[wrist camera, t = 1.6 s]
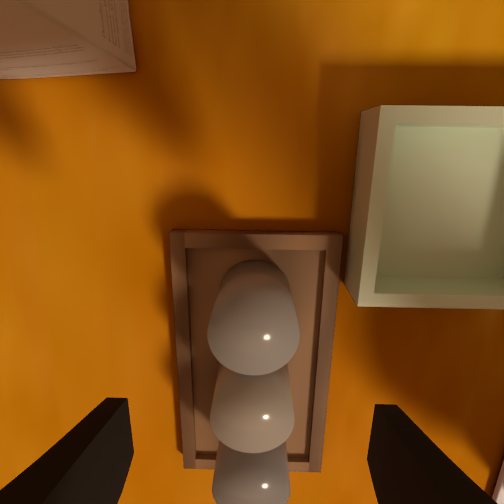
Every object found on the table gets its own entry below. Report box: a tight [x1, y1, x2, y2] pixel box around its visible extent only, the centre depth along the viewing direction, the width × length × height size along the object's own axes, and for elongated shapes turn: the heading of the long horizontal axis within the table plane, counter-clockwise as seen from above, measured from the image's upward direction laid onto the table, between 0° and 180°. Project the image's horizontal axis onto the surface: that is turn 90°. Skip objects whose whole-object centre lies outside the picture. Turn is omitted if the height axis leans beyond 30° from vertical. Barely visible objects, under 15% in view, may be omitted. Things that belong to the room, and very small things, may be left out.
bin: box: [344, 105, 504, 309], centre depth 16 cm, size 9×9×3 cm
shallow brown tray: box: [169, 229, 343, 472], centre depth 20 cm, size 9×16×1 cm, turn 179°
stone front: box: [207, 259, 300, 375], centre depth 17 cm, size 4×4×4 cm
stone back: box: [212, 440, 290, 504], centre depth 20 cm, size 4×4×4 cm
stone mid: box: [210, 363, 295, 453], centre depth 18 cm, size 4×4×4 cm
